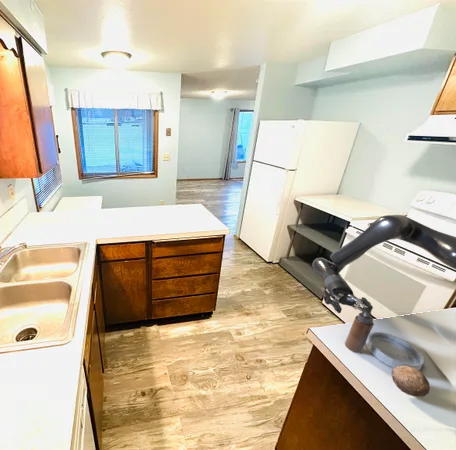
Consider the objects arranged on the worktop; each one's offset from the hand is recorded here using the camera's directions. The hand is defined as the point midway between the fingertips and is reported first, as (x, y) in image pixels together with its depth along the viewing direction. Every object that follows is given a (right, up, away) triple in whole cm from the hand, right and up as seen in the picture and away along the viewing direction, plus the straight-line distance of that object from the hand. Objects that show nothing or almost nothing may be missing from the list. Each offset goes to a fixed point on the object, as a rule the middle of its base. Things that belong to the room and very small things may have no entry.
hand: (354, 314), depth 84 cm
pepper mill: (-2, -11, -2) cm, 11 cm away
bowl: (+9, -12, -4) cm, 15 cm away
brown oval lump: (+3, -16, -14) cm, 22 cm away
